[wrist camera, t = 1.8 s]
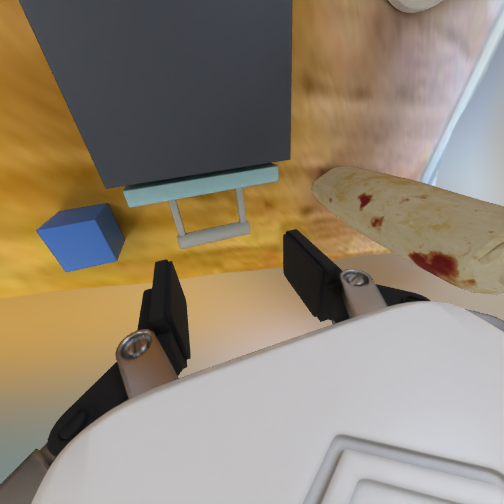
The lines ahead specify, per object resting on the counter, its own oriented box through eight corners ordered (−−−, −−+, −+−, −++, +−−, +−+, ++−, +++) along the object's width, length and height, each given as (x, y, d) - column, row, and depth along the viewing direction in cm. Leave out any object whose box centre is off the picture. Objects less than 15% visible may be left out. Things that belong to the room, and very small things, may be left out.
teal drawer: (254, 212, 27) (279, 241, 21) (160, 231, 25) (155, 271, 18) (234, -23, 16) (274, -110, 10) (65, -28, 14) (-21, -147, 8)
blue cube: (107, 202, 22) (95, 219, 19) (125, 240, 25) (117, 261, 21) (58, 211, 21) (35, 230, 18) (82, 249, 24) (65, 272, 20)
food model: (298, 206, 30) (450, 314, 13) (316, 154, 26) (541, 213, 10) (351, 214, 33) (522, 307, 17) (372, 169, 30) (604, 230, 14)
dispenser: (251, 145, 24) (290, 159, 16) (129, 162, 21) (105, 189, 13) (234, -75, 16) (296, -263, 8) (34, -92, 13) (-165, -394, 5)
